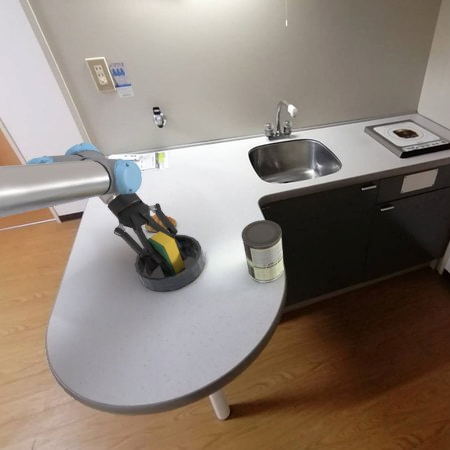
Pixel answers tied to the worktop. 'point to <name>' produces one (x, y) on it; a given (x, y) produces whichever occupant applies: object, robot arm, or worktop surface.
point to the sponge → (167, 251)
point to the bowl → (164, 280)
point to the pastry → (159, 223)
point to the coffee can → (263, 250)
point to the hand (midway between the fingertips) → (178, 264)
